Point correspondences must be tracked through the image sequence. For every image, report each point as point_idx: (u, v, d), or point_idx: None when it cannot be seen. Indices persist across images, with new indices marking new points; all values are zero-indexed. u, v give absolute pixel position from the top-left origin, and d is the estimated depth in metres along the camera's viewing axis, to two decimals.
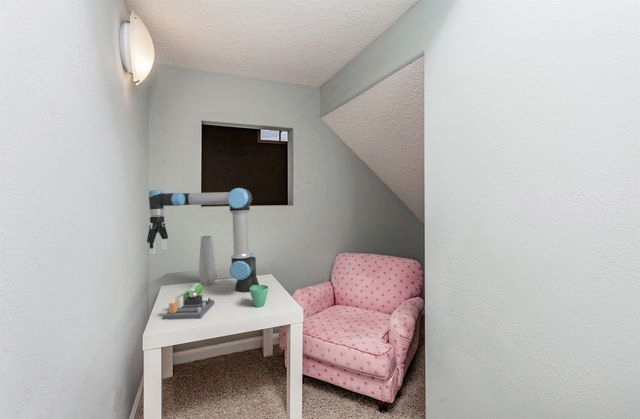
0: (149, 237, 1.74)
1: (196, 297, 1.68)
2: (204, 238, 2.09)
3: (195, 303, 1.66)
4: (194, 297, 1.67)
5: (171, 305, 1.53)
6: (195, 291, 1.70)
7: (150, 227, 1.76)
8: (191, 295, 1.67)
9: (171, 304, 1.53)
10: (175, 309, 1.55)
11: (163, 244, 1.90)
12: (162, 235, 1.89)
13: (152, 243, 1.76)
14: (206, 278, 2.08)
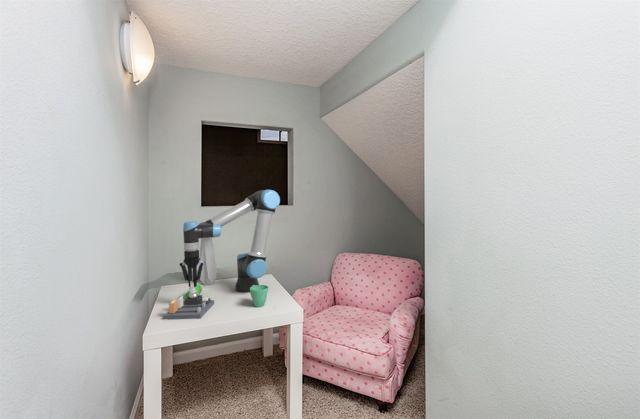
0: None
1: (196, 298, 1.68)
2: (204, 238, 2.09)
3: (195, 303, 1.66)
4: (194, 298, 1.67)
5: (171, 305, 1.53)
6: (195, 292, 1.70)
7: None
8: (191, 296, 1.67)
9: (171, 304, 1.53)
10: (175, 309, 1.55)
11: None
12: None
13: (189, 282, 1.68)
14: (206, 278, 2.08)
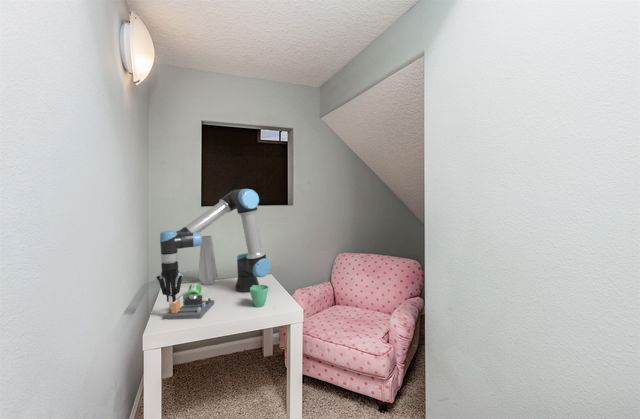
0: None
1: None
2: (204, 238, 2.08)
3: (195, 303, 1.66)
4: None
5: (173, 305, 1.53)
6: (195, 294, 1.70)
7: None
8: (191, 298, 1.67)
9: (173, 304, 1.53)
10: (177, 309, 1.55)
11: None
12: None
13: (167, 296, 1.54)
14: (206, 278, 2.08)
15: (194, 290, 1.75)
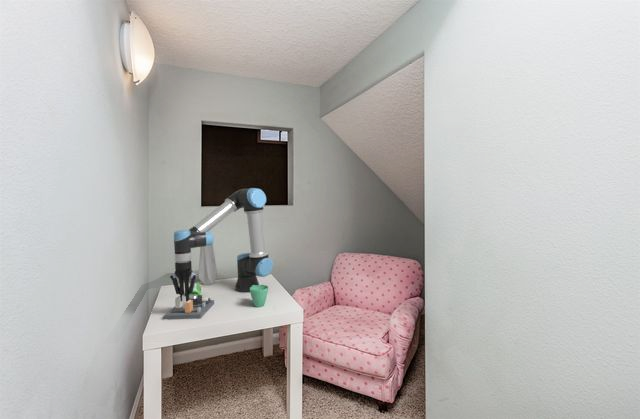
0: None
1: None
2: None
3: (195, 303, 1.66)
4: None
5: (187, 305, 1.53)
6: (195, 294, 1.70)
7: None
8: (191, 298, 1.67)
9: (187, 304, 1.53)
10: (191, 309, 1.55)
11: None
12: None
13: (181, 296, 1.54)
14: (206, 278, 2.08)
15: (195, 290, 1.75)
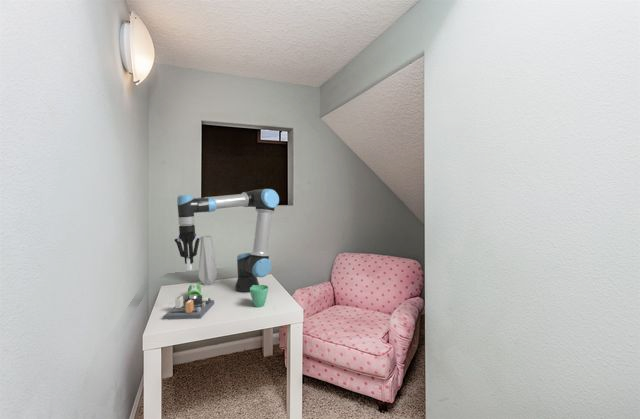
0: None
1: None
2: (204, 238, 2.09)
3: (195, 303, 1.66)
4: None
5: (187, 305, 1.53)
6: (195, 294, 1.70)
7: None
8: (191, 298, 1.67)
9: (188, 304, 1.53)
10: (191, 309, 1.55)
11: None
12: None
13: (185, 258, 1.60)
14: (206, 278, 2.08)
15: (195, 290, 1.75)
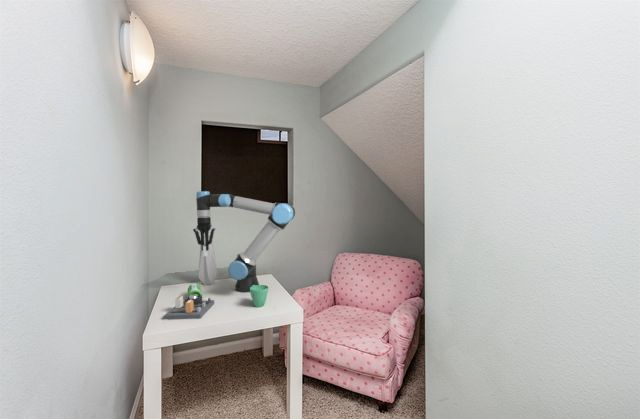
0: None
1: None
2: (204, 238, 2.09)
3: (195, 303, 1.66)
4: None
5: (187, 305, 1.53)
6: (195, 294, 1.70)
7: None
8: (191, 298, 1.67)
9: (188, 304, 1.53)
10: (191, 309, 1.55)
11: None
12: None
13: (202, 246, 1.85)
14: (206, 278, 2.08)
15: (196, 290, 1.76)
